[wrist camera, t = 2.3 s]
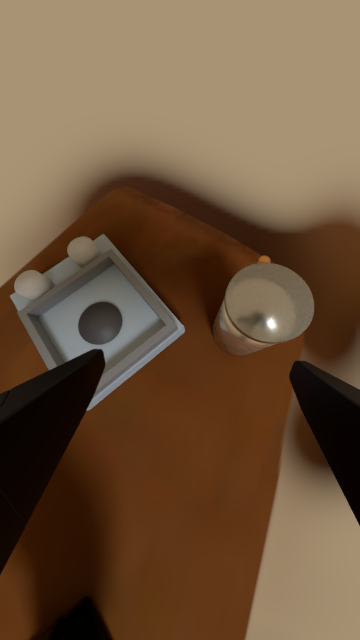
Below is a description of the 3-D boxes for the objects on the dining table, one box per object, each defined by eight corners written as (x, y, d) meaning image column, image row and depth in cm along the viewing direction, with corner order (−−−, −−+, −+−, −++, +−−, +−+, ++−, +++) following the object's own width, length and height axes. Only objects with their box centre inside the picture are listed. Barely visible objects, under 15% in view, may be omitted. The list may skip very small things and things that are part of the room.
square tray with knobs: (184, 332, 23) (183, 321, 19) (89, 409, 21) (63, 418, 17) (111, 246, 27) (96, 221, 23) (26, 303, 25) (-7, 288, 21)
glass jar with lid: (260, 361, 21) (312, 350, 12) (207, 350, 22) (219, 332, 13) (267, 295, 24) (315, 244, 14) (218, 287, 24) (235, 233, 15)
